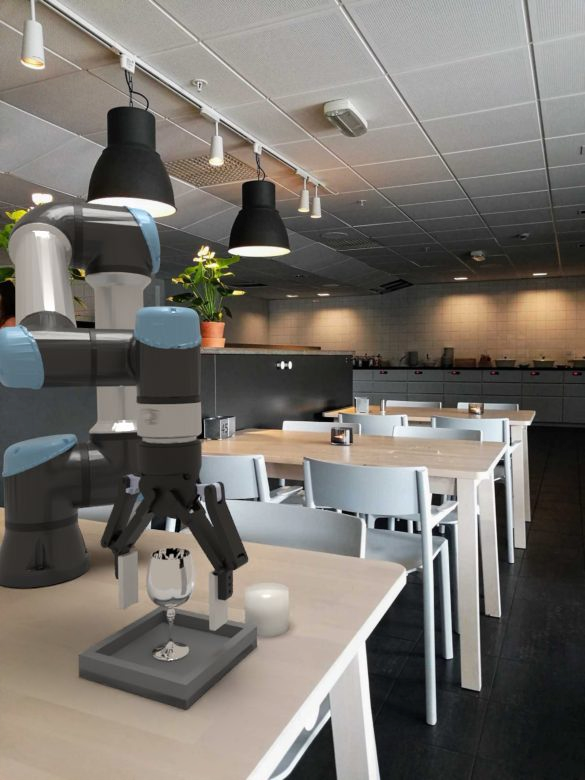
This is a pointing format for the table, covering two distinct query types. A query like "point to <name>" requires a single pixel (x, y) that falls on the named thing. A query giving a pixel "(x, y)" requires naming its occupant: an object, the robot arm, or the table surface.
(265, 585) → the white pillar candle
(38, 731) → the table surface
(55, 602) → the table surface
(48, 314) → the robot arm
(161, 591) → the wineglass
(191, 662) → the tray
